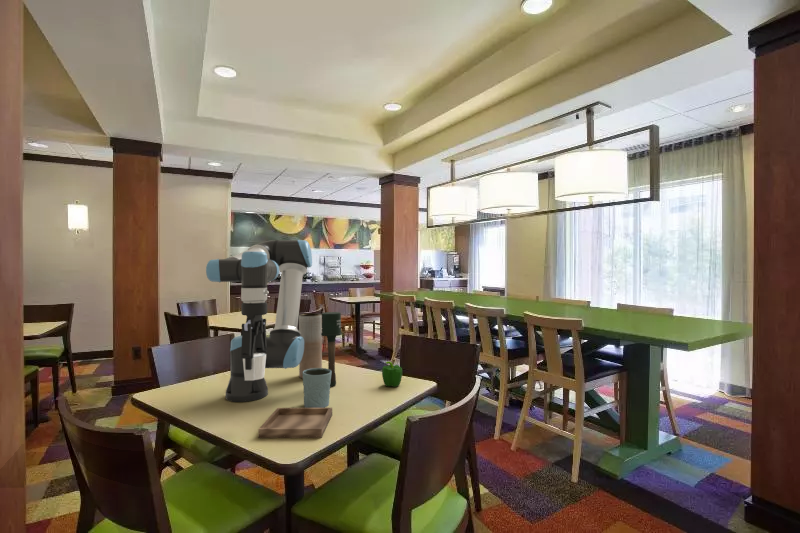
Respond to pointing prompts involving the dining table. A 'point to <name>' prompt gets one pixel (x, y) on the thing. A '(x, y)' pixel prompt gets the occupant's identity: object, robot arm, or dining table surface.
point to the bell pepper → (391, 374)
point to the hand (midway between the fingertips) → (254, 376)
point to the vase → (311, 341)
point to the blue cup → (316, 387)
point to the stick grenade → (331, 338)
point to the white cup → (258, 365)
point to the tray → (296, 423)
